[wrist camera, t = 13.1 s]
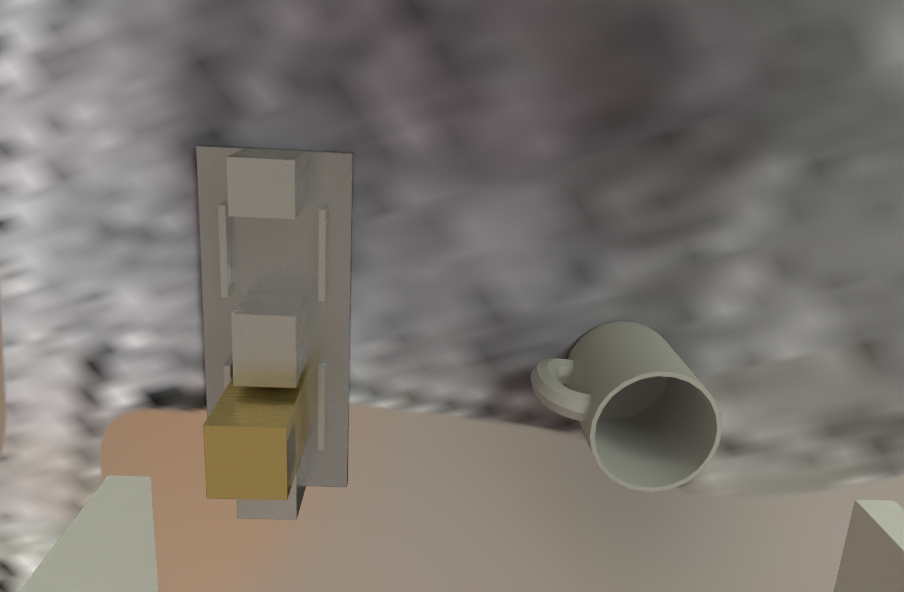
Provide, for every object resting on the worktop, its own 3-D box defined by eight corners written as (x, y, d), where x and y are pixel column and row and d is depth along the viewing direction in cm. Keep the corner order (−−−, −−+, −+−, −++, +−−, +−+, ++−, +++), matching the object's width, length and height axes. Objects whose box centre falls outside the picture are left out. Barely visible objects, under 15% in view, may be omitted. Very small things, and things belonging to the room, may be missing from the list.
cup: (655, 429, 53) (699, 501, 44) (509, 403, 52) (526, 471, 43) (686, 329, 51) (739, 384, 42) (535, 300, 50) (558, 350, 41)
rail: (199, 145, 46) (175, 154, 42) (353, 152, 47) (345, 162, 42) (212, 478, 52) (192, 517, 48) (347, 482, 53) (340, 521, 48)
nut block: (236, 368, 50) (202, 425, 42) (308, 371, 50) (287, 427, 42) (238, 431, 51) (205, 498, 43) (308, 433, 51) (288, 500, 43)
